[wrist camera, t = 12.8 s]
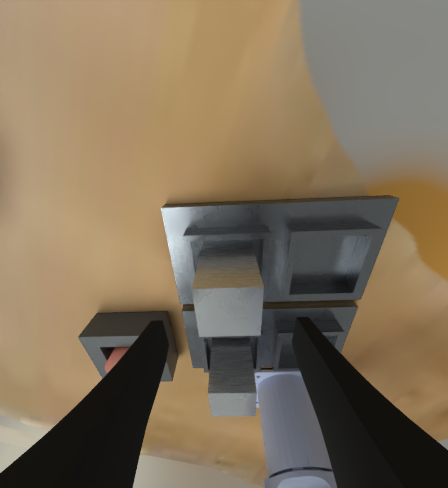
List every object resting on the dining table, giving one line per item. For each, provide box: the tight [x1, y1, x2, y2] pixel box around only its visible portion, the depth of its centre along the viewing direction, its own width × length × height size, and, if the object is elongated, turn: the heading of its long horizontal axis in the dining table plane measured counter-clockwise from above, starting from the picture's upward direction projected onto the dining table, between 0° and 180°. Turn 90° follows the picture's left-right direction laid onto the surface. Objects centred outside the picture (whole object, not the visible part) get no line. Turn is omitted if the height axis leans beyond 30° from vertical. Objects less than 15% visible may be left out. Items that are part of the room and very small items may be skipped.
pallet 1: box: [161, 195, 399, 304], centre depth 16 cm, size 10×18×2 cm, turn 93°
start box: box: [78, 311, 178, 381], centre depth 21 cm, size 8×8×3 cm
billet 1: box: [192, 240, 264, 337], centre depth 14 cm, size 4×4×6 cm
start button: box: [105, 347, 130, 373], centre depth 20 cm, size 4×4×2 cm
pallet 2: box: [182, 300, 358, 372], centre depth 21 cm, size 10×18×2 cm, turn 92°
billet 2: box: [208, 337, 257, 416], centre depth 19 cm, size 4×4×6 cm
